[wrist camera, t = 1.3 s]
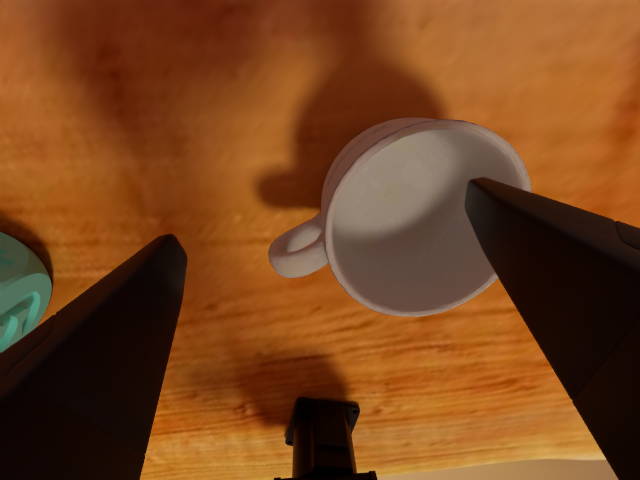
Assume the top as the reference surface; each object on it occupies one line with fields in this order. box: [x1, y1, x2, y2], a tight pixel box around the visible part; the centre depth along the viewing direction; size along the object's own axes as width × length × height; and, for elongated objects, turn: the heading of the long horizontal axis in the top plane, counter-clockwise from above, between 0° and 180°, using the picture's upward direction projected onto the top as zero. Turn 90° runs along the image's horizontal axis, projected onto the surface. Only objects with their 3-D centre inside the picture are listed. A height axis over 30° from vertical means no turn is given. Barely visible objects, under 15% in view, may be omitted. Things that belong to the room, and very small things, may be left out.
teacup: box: [268, 118, 532, 317], centre depth 19 cm, size 14×11×8 cm
